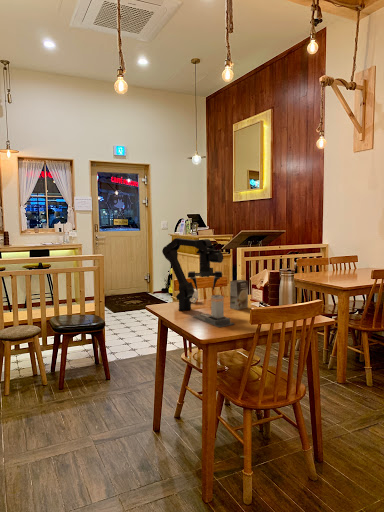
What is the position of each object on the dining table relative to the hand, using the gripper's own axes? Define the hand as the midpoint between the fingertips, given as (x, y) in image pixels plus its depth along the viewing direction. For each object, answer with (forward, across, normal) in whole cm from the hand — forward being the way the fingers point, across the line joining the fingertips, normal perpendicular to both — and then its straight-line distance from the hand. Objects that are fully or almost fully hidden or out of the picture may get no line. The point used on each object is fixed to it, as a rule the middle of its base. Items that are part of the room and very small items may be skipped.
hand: (205, 289), depth 207 cm
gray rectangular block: (+12, +6, -20) cm, 24 cm away
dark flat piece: (+13, +4, -17) cm, 21 cm away
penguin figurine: (+13, -10, +28) cm, 33 cm away
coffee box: (+13, +20, +12) cm, 27 cm away
